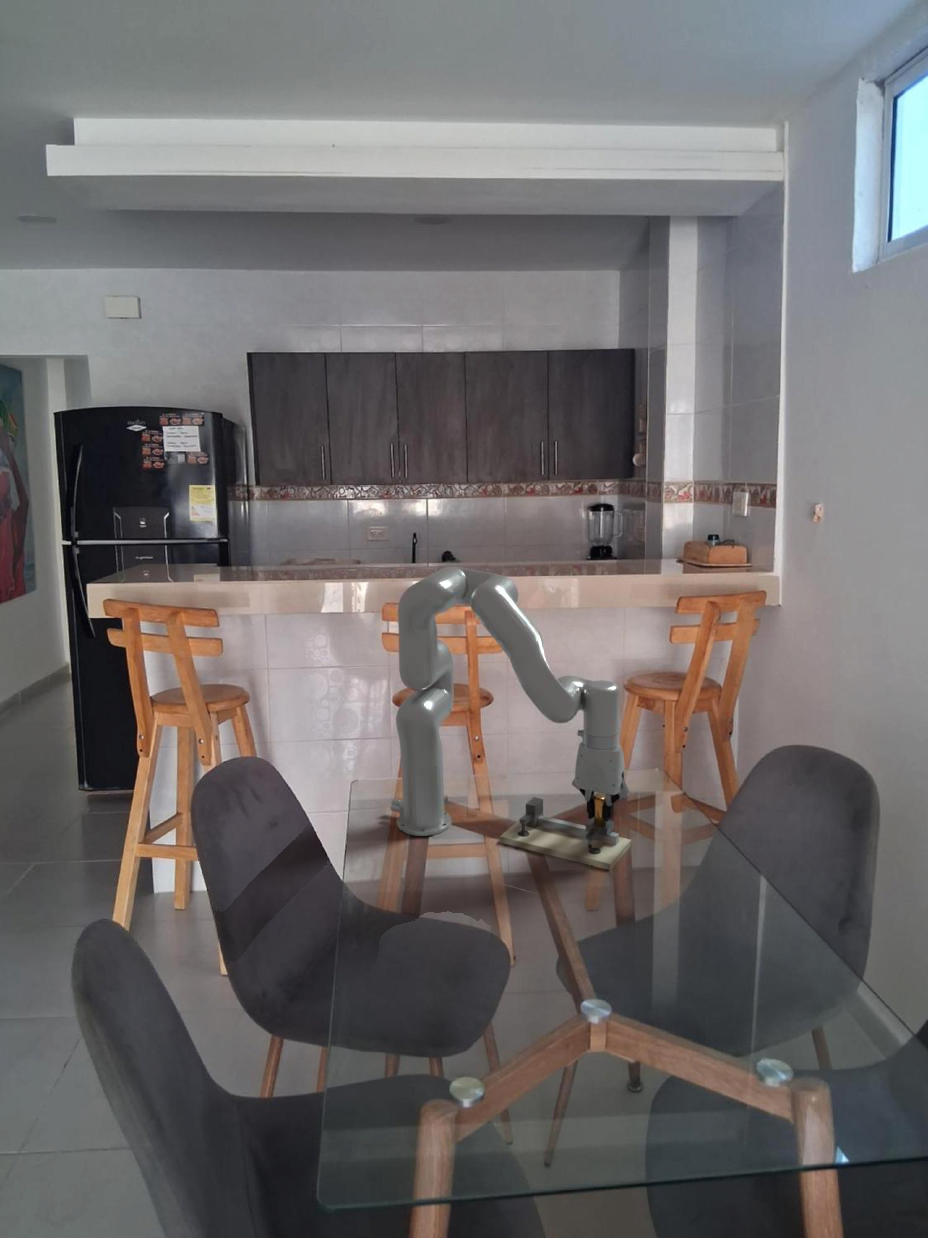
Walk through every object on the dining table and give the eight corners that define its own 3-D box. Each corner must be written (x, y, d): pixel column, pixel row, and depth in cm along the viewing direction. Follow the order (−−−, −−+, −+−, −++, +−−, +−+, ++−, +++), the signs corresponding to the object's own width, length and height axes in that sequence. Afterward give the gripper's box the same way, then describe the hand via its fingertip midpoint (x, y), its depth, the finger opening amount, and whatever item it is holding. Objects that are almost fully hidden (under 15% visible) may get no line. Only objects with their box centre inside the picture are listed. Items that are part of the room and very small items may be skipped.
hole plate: (500, 842, 210) (499, 813, 208) (524, 820, 220) (524, 793, 218) (610, 870, 197) (610, 839, 196) (631, 846, 207) (631, 816, 206)
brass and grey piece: (578, 845, 204) (578, 805, 201) (592, 830, 210) (593, 791, 208) (599, 851, 201) (600, 810, 199) (613, 835, 208) (614, 796, 205)
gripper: (558, 738, 203) (558, 817, 207) (631, 751, 194) (629, 833, 199) (573, 727, 209) (572, 804, 213) (643, 739, 201) (641, 819, 205)
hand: (600, 817), depth 206 cm, fingers closed on brass and grey piece, 2 cm apart
